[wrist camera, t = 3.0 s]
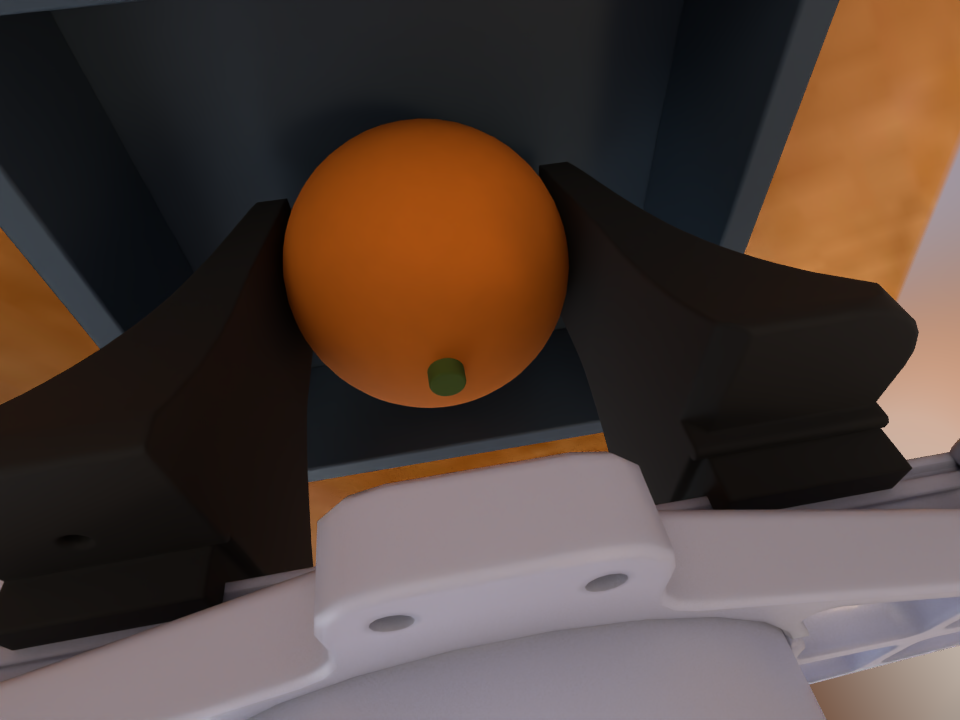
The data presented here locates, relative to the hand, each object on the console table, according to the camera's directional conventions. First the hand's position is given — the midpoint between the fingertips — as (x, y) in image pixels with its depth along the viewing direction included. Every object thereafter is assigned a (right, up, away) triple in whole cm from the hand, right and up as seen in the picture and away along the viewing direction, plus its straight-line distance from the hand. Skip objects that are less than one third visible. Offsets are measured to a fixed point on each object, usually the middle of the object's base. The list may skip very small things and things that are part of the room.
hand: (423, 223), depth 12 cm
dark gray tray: (0, +1, +1) cm, 1 cm away
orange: (0, +1, +1) cm, 1 cm away
